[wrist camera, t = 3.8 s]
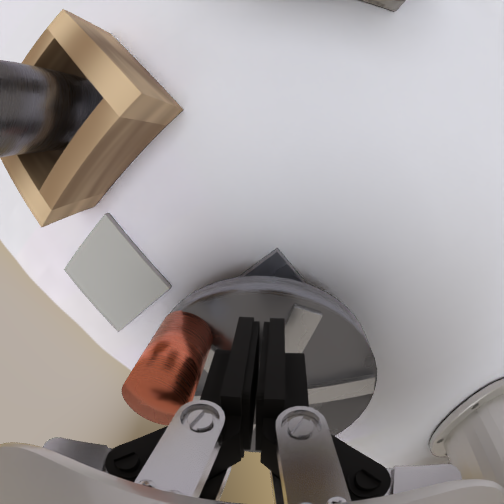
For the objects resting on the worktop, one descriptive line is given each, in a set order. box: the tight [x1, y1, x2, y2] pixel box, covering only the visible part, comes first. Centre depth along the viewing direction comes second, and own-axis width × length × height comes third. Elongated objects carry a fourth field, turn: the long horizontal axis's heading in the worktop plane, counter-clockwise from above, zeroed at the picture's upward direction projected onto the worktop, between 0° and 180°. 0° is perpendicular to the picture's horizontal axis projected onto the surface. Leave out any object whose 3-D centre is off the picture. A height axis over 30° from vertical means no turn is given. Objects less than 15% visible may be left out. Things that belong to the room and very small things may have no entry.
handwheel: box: [122, 276, 377, 452], centre depth 12 cm, size 12×12×6 cm
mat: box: [64, 213, 171, 332], centre depth 17 cm, size 6×6×1 cm
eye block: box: [0, 9, 183, 227], centre depth 11 cm, size 8×8×5 cm
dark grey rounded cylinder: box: [0, 60, 103, 157], centre depth 8 cm, size 4×4×12 cm
